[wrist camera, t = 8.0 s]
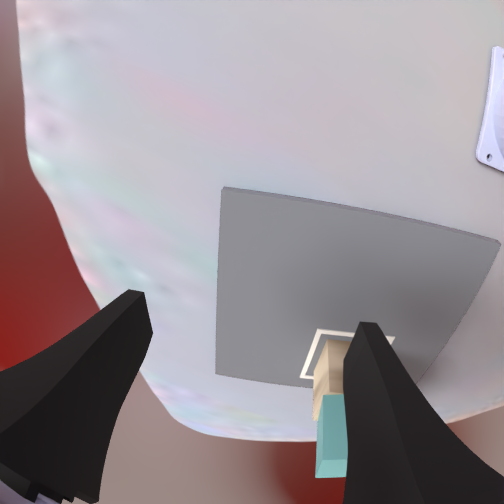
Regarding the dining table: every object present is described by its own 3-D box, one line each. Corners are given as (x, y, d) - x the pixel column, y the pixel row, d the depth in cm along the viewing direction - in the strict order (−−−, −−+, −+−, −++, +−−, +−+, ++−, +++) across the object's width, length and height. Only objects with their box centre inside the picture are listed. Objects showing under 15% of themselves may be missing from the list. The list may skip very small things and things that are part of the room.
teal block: (385, 391, 18) (393, 454, 13) (371, 419, 20) (375, 474, 16) (322, 394, 18) (322, 460, 14) (317, 422, 21) (315, 477, 17)
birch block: (379, 344, 22) (388, 394, 18) (360, 375, 24) (365, 422, 20) (327, 339, 22) (329, 392, 18) (313, 371, 25) (312, 420, 21)
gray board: (497, 240, 16) (501, 245, 16) (407, 387, 26) (408, 393, 25) (223, 186, 18) (221, 190, 17) (216, 369, 27) (215, 374, 27)
